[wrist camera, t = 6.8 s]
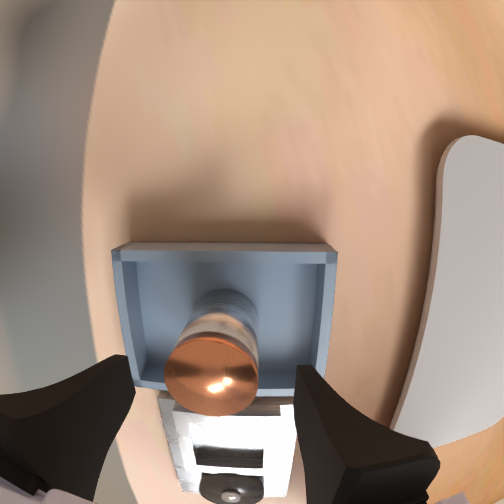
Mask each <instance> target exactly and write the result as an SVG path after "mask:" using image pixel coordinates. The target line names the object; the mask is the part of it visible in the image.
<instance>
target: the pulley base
mask: <svg viewBox="0 0 504 504" xmlns="http://www.w3.org/2000/svg"><path fill="white" fill-rule="evenodd" d="M157 399H158V404H159V408H160V412H161V417H162V421H163V425H164V429H165V433H166V437H167V441H168V445H169V448H170V452H171V455H172V459H173V462H174V466H175V469H176V472H177V476H178V479H179V482H180V485H181V488H182V491H183V492H191V493H199V494H201V495H202V496H203V497H204V498H205V499H207V500H209V501H211V502H213V503H216V504H255V503H257V502H259V501H260V500H262V498H263V497H286V495H287V490H288V484H289V479H290V473H291V467H292V461H293V455H294V448H295V442H296V435H297V431H296V427H295V421H294V408H293V399H294V396H255V398H254V400H253V401H252V403H251V404H250V405H249V406H248V407H246V408H245V409H243V410H242V411H240V412H238V413H235V414H232V415H228V416H221V417H212V416H205V415H201V414H198V413H195V412H193V411H190V410H188V409H187V408H185V407H183V406H182V405H181V404H179V403H178V402H177V401H176V400H175V399H174V398H173V397H172V395H171V394H170V393H169V391H166V390H161V391H160V393H159V395H158V398H157Z"/></svg>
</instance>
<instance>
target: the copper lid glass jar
mask: <svg viewBox="0 0 504 504" xmlns="http://www.w3.org/2000/svg"><path fill="white" fill-rule="evenodd" d="M258 341H259V318H258V312H257V310H256V307H255V305H254V304H253V303H252V301H251V300H250V299H249V298H248V297H247V296H245V295H244V294H242V293H240V292H238V291H235V290H231V289H216V290H213V291H210V292H208V293H207V294H205V295H204V296H202V297H201V298H200V299H199V301H198V302H197V304H196V306H195V308H194V309H193V311H192V313H191V315H190V317H189V319H188V321H187V323H186V325H185V327H184V329H183V331H182V333H181V335H180V337H179V339H178V341H177V343H176V345H175V346H174V348H173V350H172V352H171V354H170V356H169V358H168V360H167V362H166V365H165V368H164V381H165V384H166V387H167V389H168V391H169V393H170V394H171V395H172V397H173V398H174V399H175V400H176V401H177V402H178V403H179V404H181V405H182V406H183V407H185V408H187V409H188V410H190V411H193V412H195V413H198V414H201V415H205V416H212V417H221V416H228V415H232V414H235V413H238V412H240V411H242V410H243V409H245V408H246V407H248V406H249V405H250V404H251V403H252V401H253V400H254V398H255V396H256V394H257V390H258Z"/></svg>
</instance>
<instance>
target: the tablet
mask: <svg viewBox="0 0 504 504" xmlns="http://www.w3.org/2000/svg"><path fill="white" fill-rule="evenodd" d="M503 416H504V144H502V143H499V142H496V141H493V140H490V139H487V138H483V137H480V136H476V135H468V136H462V137H459V138H457V139H455V140H453V141H452V142H451V143H450V144H449V145H448V146H447V148H446V149H445V151H444V153H443V155H442V157H441V160H440V163H439V166H438V169H437V174H436V197H435V217H434V231H433V242H432V251H431V260H430V267H429V275H428V281H427V288H426V294H425V299H424V305H423V310H422V315H421V320H420V325H419V329H418V334H417V338H416V342H415V346H414V350H413V354H412V358H411V362H410V365H409V369H408V372H407V376H406V379H405V382H404V386H403V389H402V392H401V395H400V398H399V401H398V404H397V407H396V410H395V413H394V415H393V418H392V421H391V424H390V429H391V430H394V431H396V432H399V433H401V434H404V435H407V436H410V437H414V438H417V439H421V440H425V441H428V442H429V444H430V445H431V447H432V448H435V447H439V446H442V445H445V444H448V443H451V442H454V441H457V440H459V439H462V438H465V437H468V436H470V435H473V434H475V433H478V432H480V431H483V430H485V429H487V428H489V427H491V426H493V425H494V424H495V423H497V422H498V421H499V420H500V419H501V418H502V417H503Z"/></svg>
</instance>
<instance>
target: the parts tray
mask: <svg viewBox="0 0 504 504" xmlns="http://www.w3.org/2000/svg"><path fill="white" fill-rule="evenodd" d="M111 253H112V263H113V273H114V282H115V290H116V297H117V304H118V311H119V317H120V323H121V329H122V335H123V340H124V346H125V351H126V356H128V360H129V365H130V369H131V374H132V378H133V383H134V386H136V387H143V388H150V389H157V390H166V391H168V389H167V387H166V384H165V381H164V368H165V365H166V362H167V360H168V358H169V356H170V354H171V352H172V350H173V348H174V346H175V345H176V343H177V341H178V339H179V337H180V335H181V333H182V331H183V329H184V327H185V325H186V323H187V321H188V319H189V317H190V315H191V313H192V311H193V309H194V308H195V306H196V304H197V302H198V301H199V299H200V298H201V297H202V296H204V295H205V294H207V293H208V292H210V291H213V290H216V289H231V290H235V291H238V292H240V293H242V294H244V295H245V296H247V297H248V298H249V299H250V300H251V301H252V303H253V304H254V305H255V307H256V310H257V312H258V318H259V341H258V390H257V394H256V396H294V389H295V379H296V368H297V365H312V366H313V367H314V368H315V369H316V370H317V372H318V373H319V374H320V375H321V376H322V377H323V379H324V376H325V369H326V362H327V355H328V348H329V340H330V332H331V323H332V314H333V304H334V293H335V282H336V269H337V255H338V252H337V251H336V250H334V249H333V248H332V247H331V246H330V245H329V244H327V243H259V242H128V243H126V244H124V245H121V246H119V247H117V248H115V249H113V250H111Z"/></svg>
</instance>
